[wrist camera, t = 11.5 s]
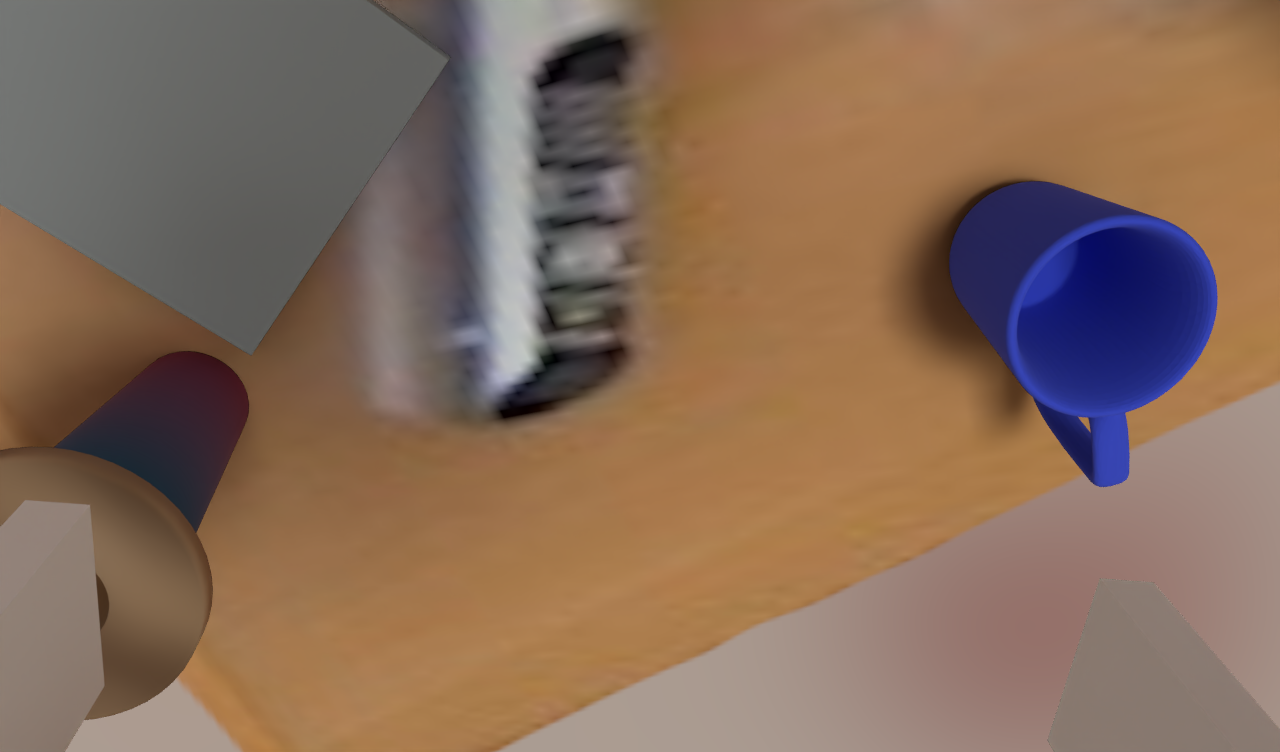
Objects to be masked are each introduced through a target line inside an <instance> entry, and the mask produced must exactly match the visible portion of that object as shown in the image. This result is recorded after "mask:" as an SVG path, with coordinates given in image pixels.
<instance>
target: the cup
mask: <svg viewBox="0 0 1280 752" xmlns="http://www.w3.org/2000/svg"><path fill="white" fill-rule="evenodd" d="M248 412H249V402H248V396H247V393H246V390H245V387H244V385H243V383H242V382H241V380H240V379H239V377H238V376H237V375H236V374H235V373H234V372H233V370H232V369H231V368H229V367H228V366H227V365H225V364H224V363H223V362H221V361H219V360H218V359H216V358H214V357H212V356H209V355H205V354H202V353H197V352H190V351H188V352H176V353H172V354H168V355H165V356H163V357H161V358H159V359H157V360H156V361H155V362H153V363H152V364H151V365H149V366H148V367H147V368H146V369H145V370H144V371H142V372H141V373H140V374H139V375H138V376H137V377H135V378H134V379H133V380H132V381H131V382H130V383H128V384H127V385H126V386H125V387H124V388H123V389H121V390H120V391H119V392H118V393H117V394H116V395H114V396H113V397H112V398H111V399H110V400H109V401H107V402H106V403H105V404H104V405H103V406H102V407H101V408H99V409H98V410H97V411H96V412H95V413H94V414H92V415H91V416H90V417H89V418H88V419H87V420H85V421H84V422H83V423H82V424H81V425H80V426H78V427H77V428H76V429H75V430H74V431H73V432H71V433H70V434H69V435H68V436H67V437H66V438H64V439H63V440H62V441H61V442H60V443H59V444H57V445H56V446H55V447H54V448H59V449H67V450H73V451H77V452H81V453H85V454H89V455H93V456H96V457H99V458H101V459H104V460H107V461H110V462H112V463H114V464H117V465H119V466H121V467H123V468H125V469H127V470H129V471H131V472H133V473H134V474H136V475H137V476H139V477H141V478H142V479H144V480H145V481H147V482H149V483H150V484H151V485H152V486H154V487H155V488H156V489H158V490H159V491H160V492H161V493H163V494H164V495H165V496H166V497H167V498H168V499H169V500H170V501H171V502H172V503H173V504H174V505H175V506H176V507H177V508H178V509H179V510H180V511H181V513H182V514H183V515H184V516H185V518H186V519H187V520H188V522H189V523H190V524H191V526H192V527H193V529H194V531H195V532H197V530H198V528H199V525H200V523H201V521H202V519H203V516H204V514H205V512H206V510H207V508H208V505H209V503H210V501H211V499H212V497H213V494H214V492H215V490H216V488H217V485H218V483H219V481H220V479H221V477H222V474H223V472H224V470H225V468H226V465H227V463H228V461H229V459H230V457H231V454H232V452H233V450H234V448H235V445H236V443H237V441H238V439H239V437H240V434H241V432H242V430H243V428H244V426H245V423H246V420H247V417H248Z"/></svg>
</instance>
